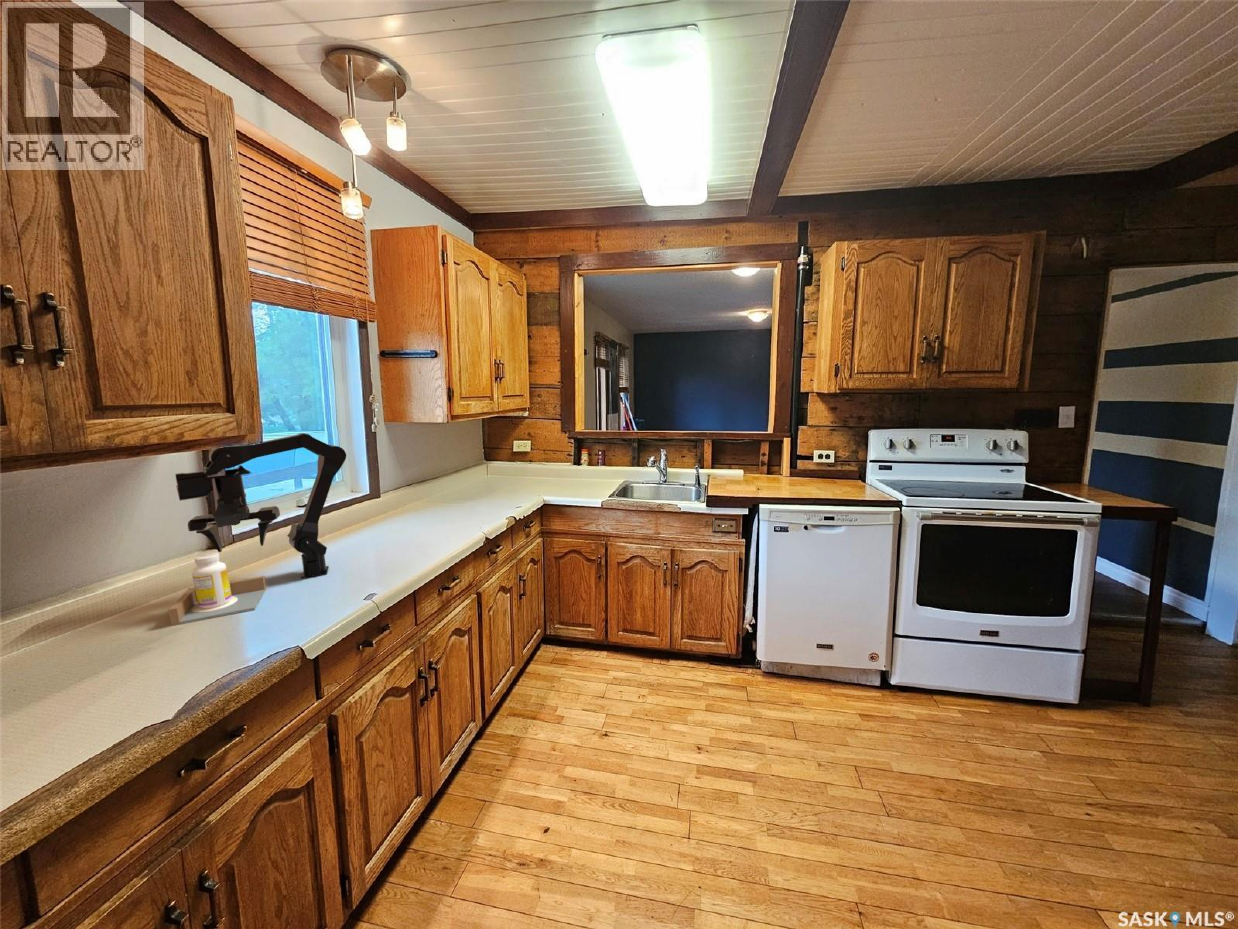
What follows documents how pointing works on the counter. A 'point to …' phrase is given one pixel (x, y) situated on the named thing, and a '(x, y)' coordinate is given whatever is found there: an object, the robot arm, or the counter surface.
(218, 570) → the supplement bottle
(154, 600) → the counter surface
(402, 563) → the counter surface
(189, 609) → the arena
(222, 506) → the robot arm
